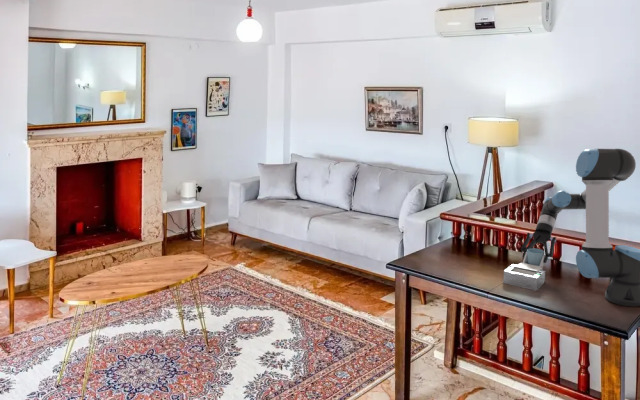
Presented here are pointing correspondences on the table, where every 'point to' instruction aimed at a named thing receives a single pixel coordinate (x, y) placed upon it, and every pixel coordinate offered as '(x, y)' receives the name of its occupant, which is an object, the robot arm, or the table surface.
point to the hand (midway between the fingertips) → (532, 266)
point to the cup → (534, 256)
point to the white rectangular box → (523, 279)
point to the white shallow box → (527, 268)
